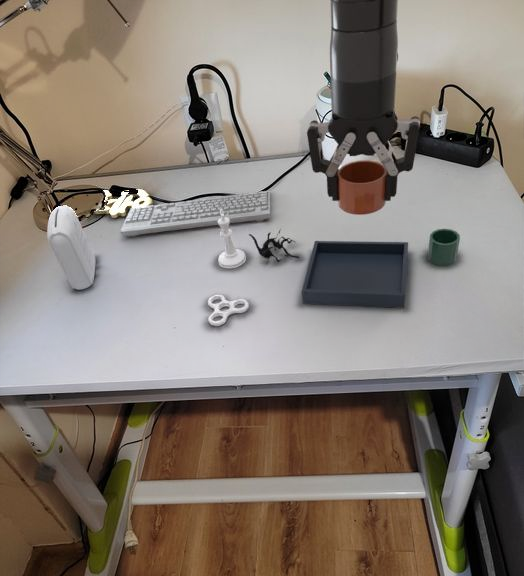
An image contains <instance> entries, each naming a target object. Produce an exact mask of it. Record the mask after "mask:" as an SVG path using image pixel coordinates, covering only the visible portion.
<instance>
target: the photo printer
mask: <svg viewBox="0 0 524 576" xmlns="http://www.w3.org/2000/svg"><path fill="white" fill-rule="evenodd" d="M46 232H47V233H46V236H47V241H48V244H49V246H50V249H51V251H52V252H53V254H54V256H55V259H56V260H57V262H58V264H59V266H60V268H61V269H62V272H63V273H64V276H65V277H66V279H67V281H68V283H69V285H70V286H71V288H72V289H74V290H78V291H80V290H85V289H87V288H89V287H91V286H92V285H93V283H94V280H95V273H96V256H95V252H94V250H93V248H92V246H91V244H90V242H89V239H88V237H87V235H86V233H85V231H84V229H83V226H82V224H81V222H80V220H79V218H78V217H77V215H76V213H75V211H74V210H73V209H72V208H71V207H69V206H67V205H63V206H58V207H56V208H55V209H54V210H53V211H52V213H51V214H50V217H49V218H48V222H47V228H46Z"/></svg>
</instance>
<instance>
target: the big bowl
mask: <svg viewBox="0 0 524 576" xmlns="http://www.w3.org/2000/svg"><path fill="white" fill-rule="evenodd" d="M338 169H339V170H338V173H337V186H338V201H337V204H338V207H339V209H340V210H342V211H343V212H345V213H347V214H350V215H355V216H356V215H359V216H361V215H363V216H364V215H371V214H373V213H377V212H378V211H380V210H381V209H383V208H384V207H385V205H386V202H387V201H385V197H386V176H387V170H386V168H385V166H384V164H383V163H381V162H379V161H374V160H370V159H369V160H368V159H367V160H365V159H364V160H355V161H351V162H348V163H346V164H344V165H342V166H341V167H339V168H338Z"/></svg>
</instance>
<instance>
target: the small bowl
mask: <svg viewBox="0 0 524 576" xmlns="http://www.w3.org/2000/svg"><path fill="white" fill-rule="evenodd" d="M460 241H461V236H460V234H459V233H458V232H457V231H456V230H453V229H451V228H438V229H436V230H433V231H432V232H431V233H430V234H429V240H428V249H427V260H428V261H429V262H430V263H431V264H432V265H435V266H438V267H439V266H440V267H446V266H450V265H453V264H454V263H455V262H456V261H457V258H458V252H459V247H460Z"/></svg>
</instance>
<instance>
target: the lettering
mask: <svg viewBox="0 0 524 576" xmlns="http://www.w3.org/2000/svg"><path fill="white" fill-rule="evenodd" d="M102 190H103V189H102ZM137 190H138V193H137V194H128V193H129V192H124V191H122V192H121V194H120V195H121V196H120V197H119V198H118V199H117V198H113V195H112V193H110V191H109V190H107V189H104V190H103V191H104V192H105V195H106V197H105V200H104V202H106V201H108V203H107V205H105V206H104V207H105V209H104V210H99V211H97V210H98V209H97V210H96V211H94V212H93V214H94V215H110V216H111V218H113V219H116V218H119V216H120V217H127V212H128V211H129V210H130V209H131V208H135V207H136V209H137V207H142V208H143V207H144V206H151V205H153V206H154V202H153V199H152V198H151V197H150V193H147V192H146V191H145V190H143V189H137ZM134 198H137V199H135V200H134ZM90 216H92V214H91V213H90V214H89V215H87V216H84V217H85V218H88V217H90Z"/></svg>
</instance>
